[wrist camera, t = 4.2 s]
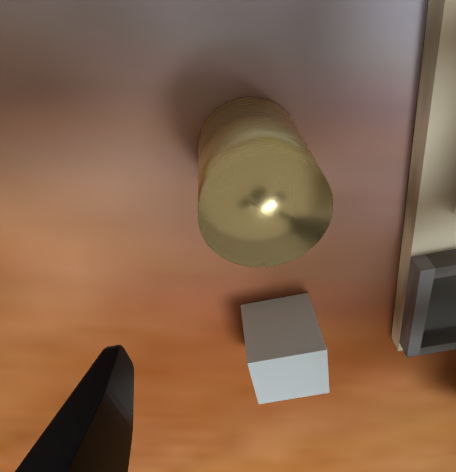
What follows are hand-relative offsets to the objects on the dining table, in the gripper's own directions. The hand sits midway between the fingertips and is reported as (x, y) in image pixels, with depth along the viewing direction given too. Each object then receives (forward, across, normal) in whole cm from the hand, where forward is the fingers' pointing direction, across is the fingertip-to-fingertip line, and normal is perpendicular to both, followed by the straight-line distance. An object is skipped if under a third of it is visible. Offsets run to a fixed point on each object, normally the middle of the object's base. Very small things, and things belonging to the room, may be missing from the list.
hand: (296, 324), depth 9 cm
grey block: (+11, 0, +13) cm, 17 cm away
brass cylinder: (+11, 0, 0) cm, 11 cm away
